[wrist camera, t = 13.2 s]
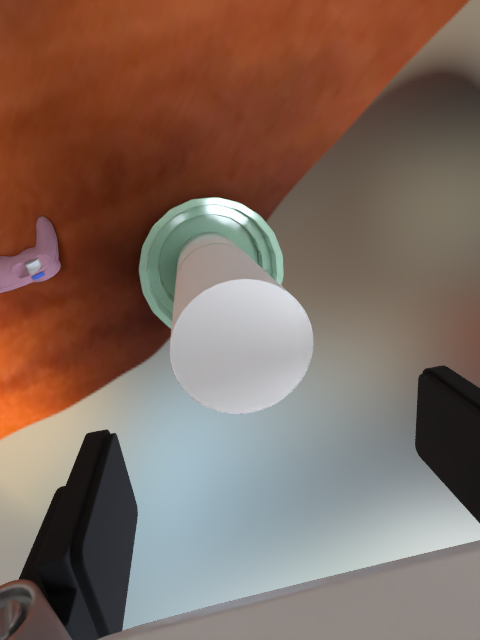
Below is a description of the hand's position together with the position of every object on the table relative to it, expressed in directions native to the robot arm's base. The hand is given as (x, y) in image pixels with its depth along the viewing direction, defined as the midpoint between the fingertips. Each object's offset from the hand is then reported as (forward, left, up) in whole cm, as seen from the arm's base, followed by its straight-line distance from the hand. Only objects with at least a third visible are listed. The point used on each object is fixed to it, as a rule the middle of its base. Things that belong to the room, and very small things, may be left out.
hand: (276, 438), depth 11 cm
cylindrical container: (0, 0, -33) cm, 33 cm away
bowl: (0, 0, -33) cm, 33 cm away
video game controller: (-20, -3, -33) cm, 39 cm away
